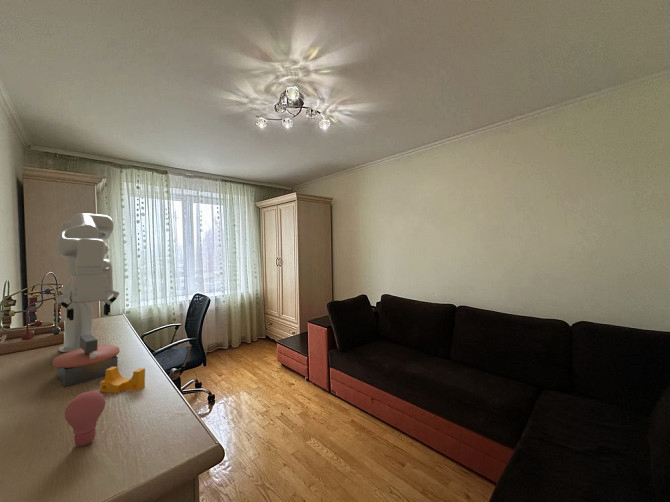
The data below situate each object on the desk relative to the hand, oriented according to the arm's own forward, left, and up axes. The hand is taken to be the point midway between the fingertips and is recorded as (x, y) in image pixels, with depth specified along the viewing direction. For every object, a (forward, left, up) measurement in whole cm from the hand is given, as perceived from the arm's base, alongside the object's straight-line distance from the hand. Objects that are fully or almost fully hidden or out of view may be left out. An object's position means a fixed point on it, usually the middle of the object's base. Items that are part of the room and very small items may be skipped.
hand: (89, 317), depth 97 cm
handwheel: (0, 0, -15) cm, 15 cm away
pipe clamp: (+22, +5, -22) cm, 32 cm away
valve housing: (0, 0, -21) cm, 21 cm away
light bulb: (+46, -9, -22) cm, 51 cm away
